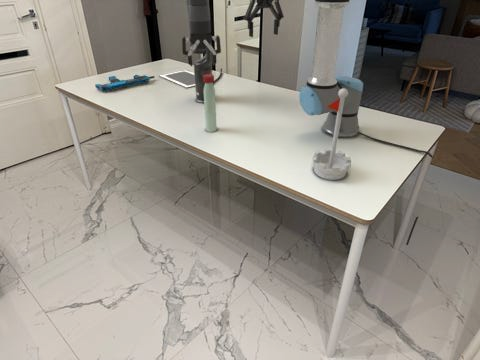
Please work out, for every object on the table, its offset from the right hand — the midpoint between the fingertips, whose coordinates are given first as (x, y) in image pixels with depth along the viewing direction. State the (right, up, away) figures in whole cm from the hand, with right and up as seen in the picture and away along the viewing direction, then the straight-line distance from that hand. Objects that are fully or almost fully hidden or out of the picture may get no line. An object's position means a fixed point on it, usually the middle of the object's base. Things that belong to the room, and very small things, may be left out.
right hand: (263, 35), depth 165 cm
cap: (-24, -28, -27) cm, 46 cm away
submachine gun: (-82, -11, +43) cm, 93 cm away
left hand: (-26, -26, -35) cm, 51 cm away
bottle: (-24, -48, -14) cm, 55 cm away
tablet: (-46, -6, +51) cm, 68 cm away
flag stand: (+21, -67, -44) cm, 83 cm away
